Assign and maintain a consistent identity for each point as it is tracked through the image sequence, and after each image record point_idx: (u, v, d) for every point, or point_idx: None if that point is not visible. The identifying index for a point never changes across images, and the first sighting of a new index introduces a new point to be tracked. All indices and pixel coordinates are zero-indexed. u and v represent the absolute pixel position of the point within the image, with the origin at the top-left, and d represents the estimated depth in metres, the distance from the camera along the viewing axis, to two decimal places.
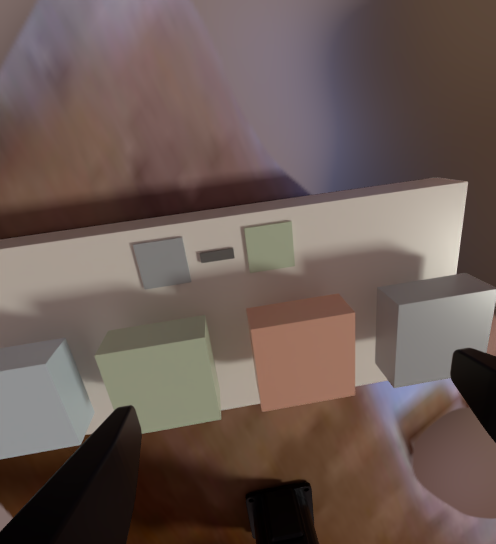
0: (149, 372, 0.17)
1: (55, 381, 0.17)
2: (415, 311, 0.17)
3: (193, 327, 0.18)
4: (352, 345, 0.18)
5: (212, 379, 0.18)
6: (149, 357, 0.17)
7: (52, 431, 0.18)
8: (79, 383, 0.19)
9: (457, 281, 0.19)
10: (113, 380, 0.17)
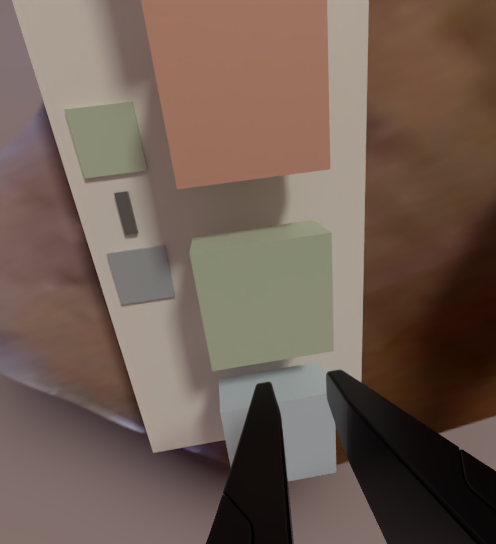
0: (239, 319, 0.14)
1: (245, 405, 0.16)
2: None
3: None
4: None
5: (259, 243, 0.13)
6: (217, 317, 0.13)
7: (309, 414, 0.16)
8: (273, 373, 0.17)
9: None
10: (247, 355, 0.14)
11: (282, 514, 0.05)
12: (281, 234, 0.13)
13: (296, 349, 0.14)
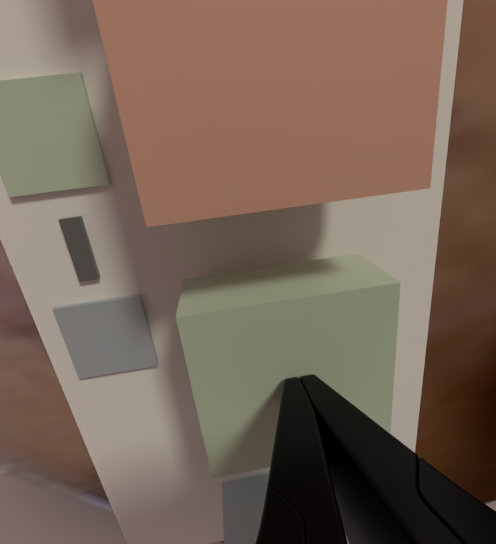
0: (253, 408, 0.09)
1: None
2: None
3: None
4: None
5: (287, 300, 0.08)
6: (219, 407, 0.09)
7: None
8: None
9: None
10: (265, 456, 0.10)
11: (331, 505, 0.05)
12: (318, 281, 0.09)
13: None
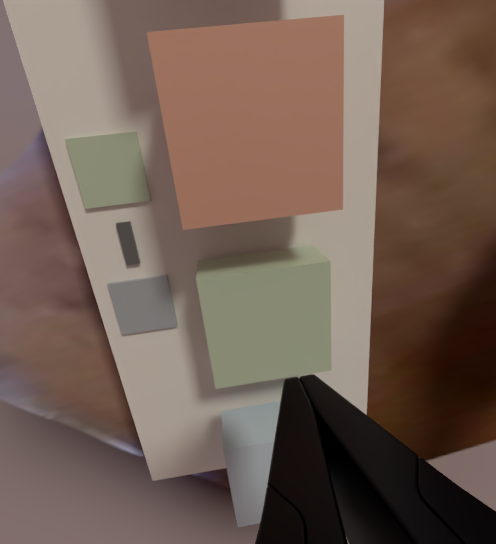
0: (241, 341, 0.14)
1: (250, 443, 0.15)
2: None
3: None
4: (221, 32, 0.09)
5: (262, 271, 0.13)
6: (221, 339, 0.14)
7: None
8: (278, 406, 0.17)
9: None
10: (249, 374, 0.15)
11: (331, 504, 0.05)
12: (282, 261, 0.14)
13: (296, 368, 0.15)
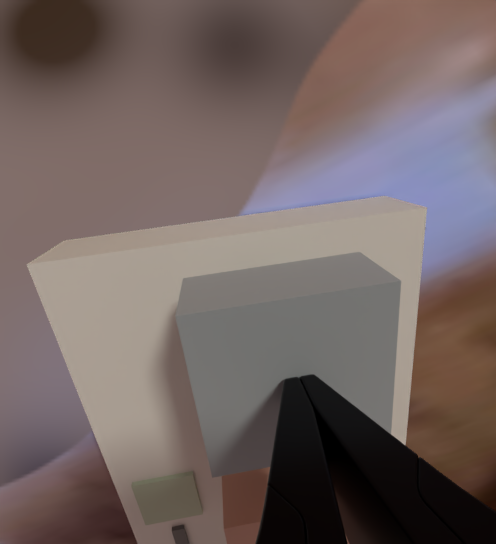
0: None
1: None
2: (226, 452, 0.09)
3: None
4: None
5: None
6: None
7: None
8: None
9: None
10: None
11: (331, 504, 0.05)
12: None
13: None
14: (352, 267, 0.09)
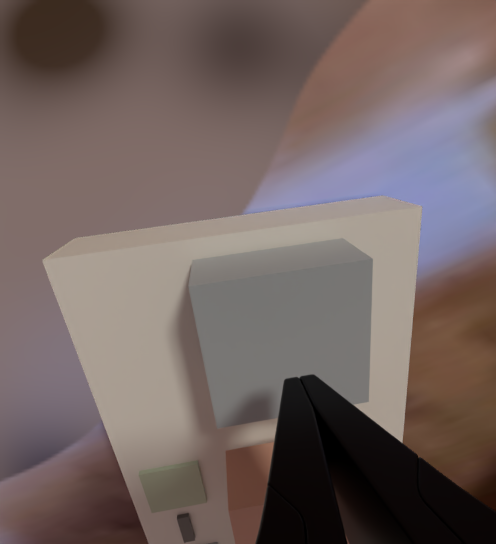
0: None
1: None
2: (228, 405, 0.11)
3: None
4: None
5: None
6: None
7: None
8: None
9: None
10: None
11: (331, 504, 0.05)
12: None
13: None
14: (335, 249, 0.11)
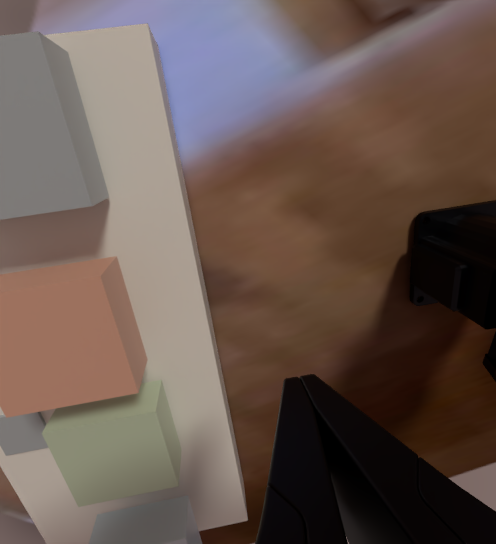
0: (92, 471, 0.17)
1: None
2: None
3: None
4: (4, 295, 0.12)
5: (98, 422, 0.16)
6: (73, 472, 0.17)
7: None
8: (144, 510, 0.20)
9: None
10: (106, 494, 0.18)
11: (331, 505, 0.05)
12: (122, 407, 0.17)
13: (146, 487, 0.18)
14: None
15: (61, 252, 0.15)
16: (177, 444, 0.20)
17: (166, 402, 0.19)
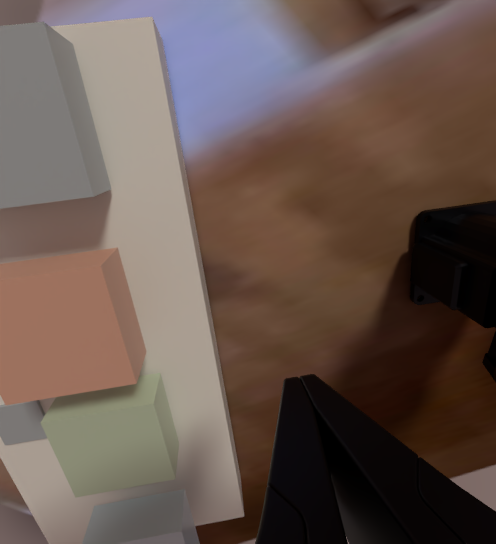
0: (90, 462, 0.17)
1: (103, 543, 0.18)
2: None
3: None
4: (5, 283, 0.12)
5: (96, 413, 0.16)
6: (71, 462, 0.17)
7: None
8: (141, 502, 0.20)
9: None
10: (103, 485, 0.18)
11: (331, 504, 0.05)
12: (120, 399, 0.17)
13: (143, 479, 0.18)
14: None
15: (63, 243, 0.16)
16: (175, 438, 0.20)
17: (164, 395, 0.19)
